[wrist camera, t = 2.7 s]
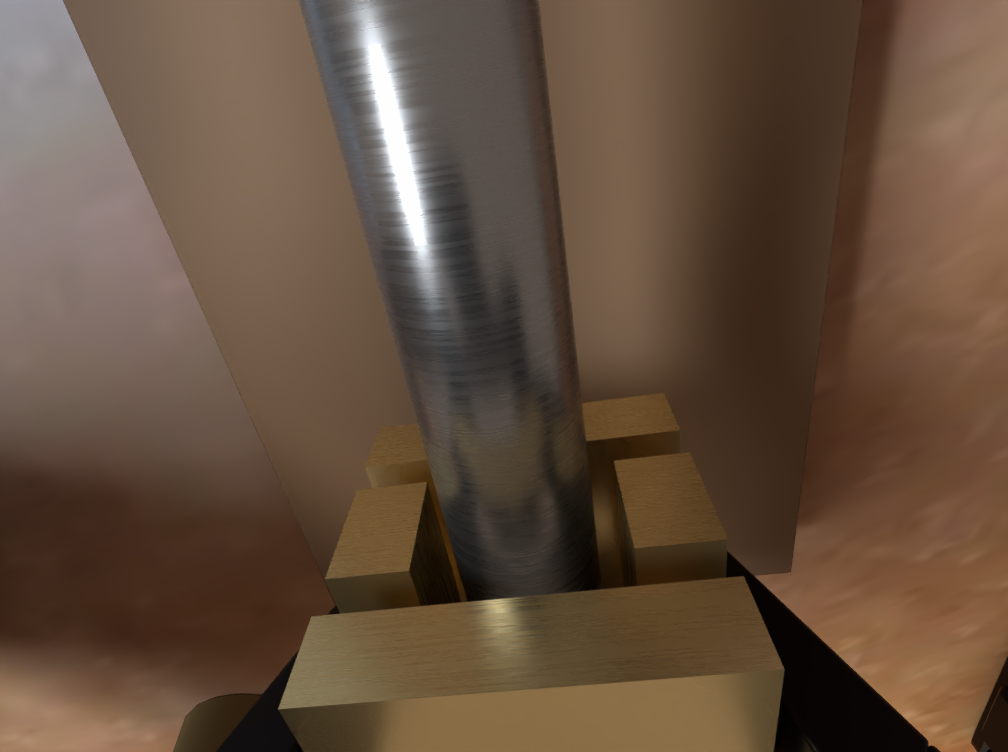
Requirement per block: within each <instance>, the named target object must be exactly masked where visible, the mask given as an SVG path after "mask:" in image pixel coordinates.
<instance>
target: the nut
mask: <svg viewBox="0 0 1008 752" xmlns="http://www.w3.org/2000/svg"><path fill="white" fill-rule="evenodd" d="M582 405H583V415H584V424H585V433H586V443H587V452H588V461H589V471H590V480H591V489H592V499H593V508H594V517H595V527H596V536H597V545H598V555H599V564H600V573H601V583H602V589H600V590H590V591H579V592H568V593H558V594H547V595H536V596H525V597H515V598H504V599H493V600H483V601H472V602H467V599H466V596H465V592H464V589H463V585H462V582H461V578H460V574H459V571H458V567H457V564H456V560H455V557H454V553H453V549H452V546H451V542H450V539H449V535H448V532H447V528H446V525H445V521H444V517H443V514H442V510H441V507H440V503H439V500H438V496H437V492H436V489H435V485H434V482H433V478H432V475H431V471H430V467H429V464H428V460H427V457H426V453H425V450H424V446H423V443H422V439H421V435H420V432H419V428H418V425H417V423H416V424H408V425H399V426H391V427H383V428H379V430H378V433H377V435H376V438H375V441H374V444H373V447H372V449H371V452H370V455H369V458H368V461H367V463H366V466H365V468H366V471H367V474H368V477H369V480H370V482H371V485H372V488H369V489H360V490H357V491H356V494H355V497H354V499H353V502H352V505H351V508H350V511H349V513H348V516H347V519H346V522H345V524H344V527H343V530H342V533H341V536H340V538H339V541H338V544H337V547H336V550H335V552H334V555H333V558H332V561H331V563H330V566H329V569H328V572H327V575H326V577H325V581H326V583H327V585H328V587H329V590H330V592H331V594H332V596H333V599H334V601H335V603H336V605H337V608H338V610H339V612H340V614H333V615H322V616H311V619H310V622H309V625H308V627H307V630H306V633H305V636H304V639H303V641H302V644H301V647H300V650H299V652H298V655H297V658H296V661H295V664H294V666H293V669H292V672H291V675H290V677H289V680H288V683H287V686H286V689H285V691H284V694H283V697H282V700H281V703H280V705H279V708H278V710H279V712H280V713H281V715H282V717H283V718H284V720H285V722H286V723H287V725H288V727H289V728H290V730H291V732H292V733H293V735H294V736H295V738H296V740H297V741H298V743H299V745H300V746H301V748H302V750H303V751H304V752H774V745H775V738H776V730H777V723H778V715H779V708H780V700H781V693H782V686H783V678H784V671H785V669H784V667H783V665H782V662H781V660H780V658H779V655H778V653H777V651H776V649H775V646H774V644H773V642H772V639H771V637H770V635H769V633H768V630H767V628H766V626H765V623H764V621H763V619H762V616H761V614H760V612H759V610H758V607H757V605H756V603H755V600H754V598H753V596H752V594H751V591H750V589H749V587H748V584H747V582H746V580H745V577H744V576H740V577H729V578H726V567H727V546H728V538H727V536H726V534H725V532H724V529H723V527H722V525H721V522H720V520H719V518H718V516H717V513H716V511H715V509H714V506H713V504H712V502H711V499H710V497H709V495H708V493H707V490H706V488H705V486H704V483H703V481H702V479H701V477H700V474H699V472H698V470H697V467H696V465H695V463H694V460H693V458H692V456H691V454H690V452H686V453H680V428H679V426H678V424H677V421H676V419H675V417H674V415H673V412H672V410H671V408H670V405H669V403H668V401H667V399H666V396H665V394H664V393H659V394H651V395H643V396H634V397H626V398H618V399H610V400H602V401H594V402H586V403H582Z"/></svg>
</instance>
